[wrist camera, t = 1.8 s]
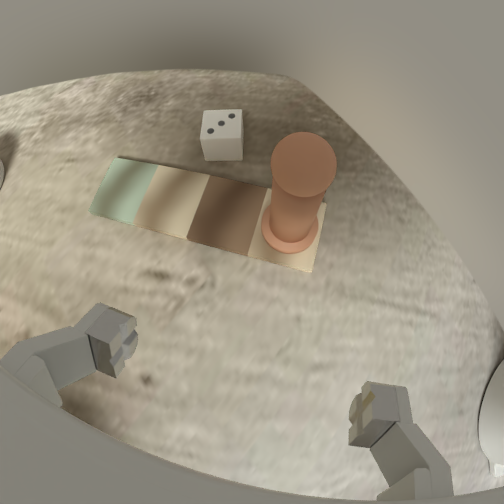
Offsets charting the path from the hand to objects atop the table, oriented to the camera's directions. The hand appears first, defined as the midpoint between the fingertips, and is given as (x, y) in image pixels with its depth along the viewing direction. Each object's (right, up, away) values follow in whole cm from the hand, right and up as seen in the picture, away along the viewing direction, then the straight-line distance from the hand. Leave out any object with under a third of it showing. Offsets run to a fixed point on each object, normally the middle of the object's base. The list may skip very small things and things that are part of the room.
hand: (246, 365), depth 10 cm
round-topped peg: (+4, +6, +19) cm, 20 cm away
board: (-5, +8, +21) cm, 23 cm away
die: (-3, +15, +23) cm, 28 cm away
